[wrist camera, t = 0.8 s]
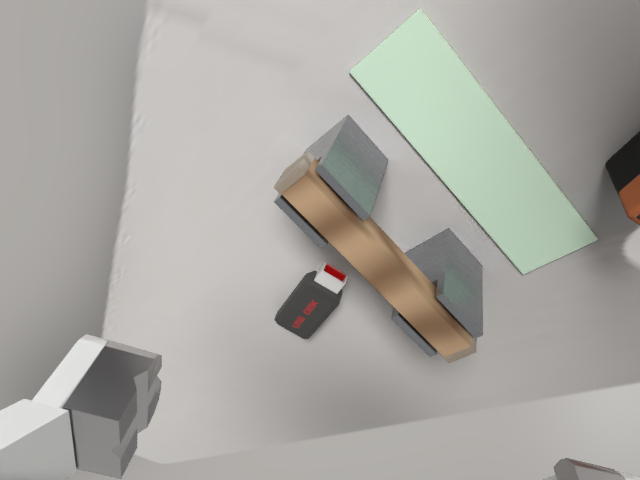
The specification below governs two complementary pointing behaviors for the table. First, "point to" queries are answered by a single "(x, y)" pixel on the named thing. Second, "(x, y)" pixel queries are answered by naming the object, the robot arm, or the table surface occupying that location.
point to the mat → (471, 145)
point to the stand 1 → (344, 172)
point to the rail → (375, 258)
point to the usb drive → (312, 301)
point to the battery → (627, 176)
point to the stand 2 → (448, 283)
